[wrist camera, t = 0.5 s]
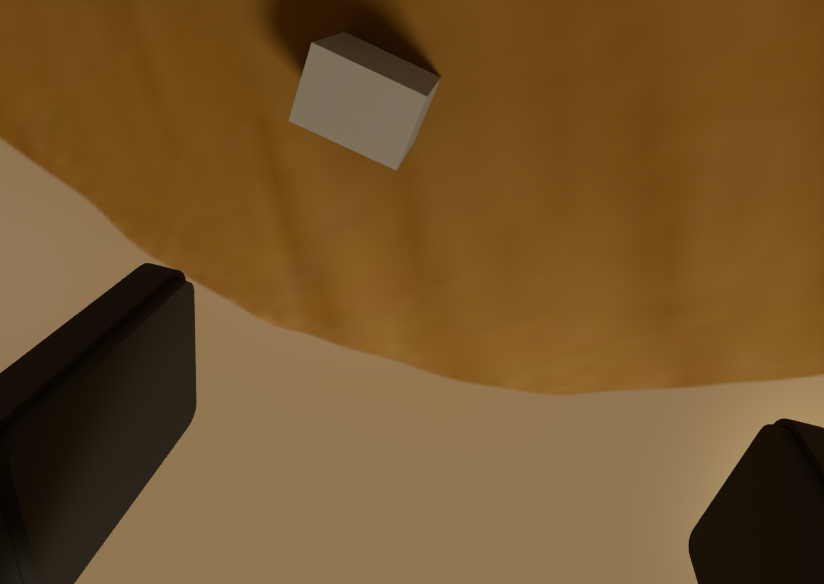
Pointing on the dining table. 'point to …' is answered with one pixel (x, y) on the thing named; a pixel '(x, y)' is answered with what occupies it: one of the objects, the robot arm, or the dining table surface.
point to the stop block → (363, 98)
